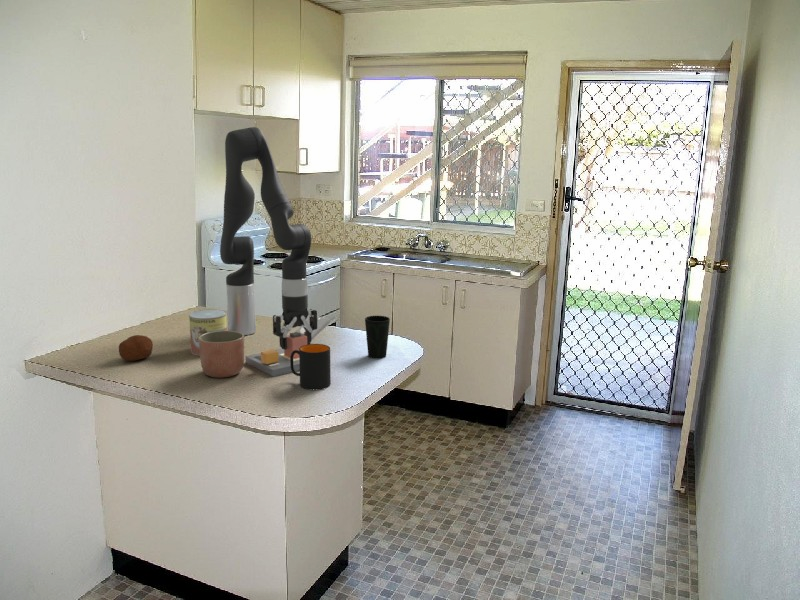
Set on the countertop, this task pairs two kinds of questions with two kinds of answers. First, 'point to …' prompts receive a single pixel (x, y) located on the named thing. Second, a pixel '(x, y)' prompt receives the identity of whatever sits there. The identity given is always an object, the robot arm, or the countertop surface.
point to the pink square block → (294, 343)
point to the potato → (135, 348)
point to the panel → (274, 364)
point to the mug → (313, 366)
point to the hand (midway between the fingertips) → (296, 346)
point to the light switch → (320, 326)
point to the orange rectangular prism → (269, 356)
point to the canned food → (205, 325)
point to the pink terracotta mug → (221, 353)
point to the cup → (377, 336)
